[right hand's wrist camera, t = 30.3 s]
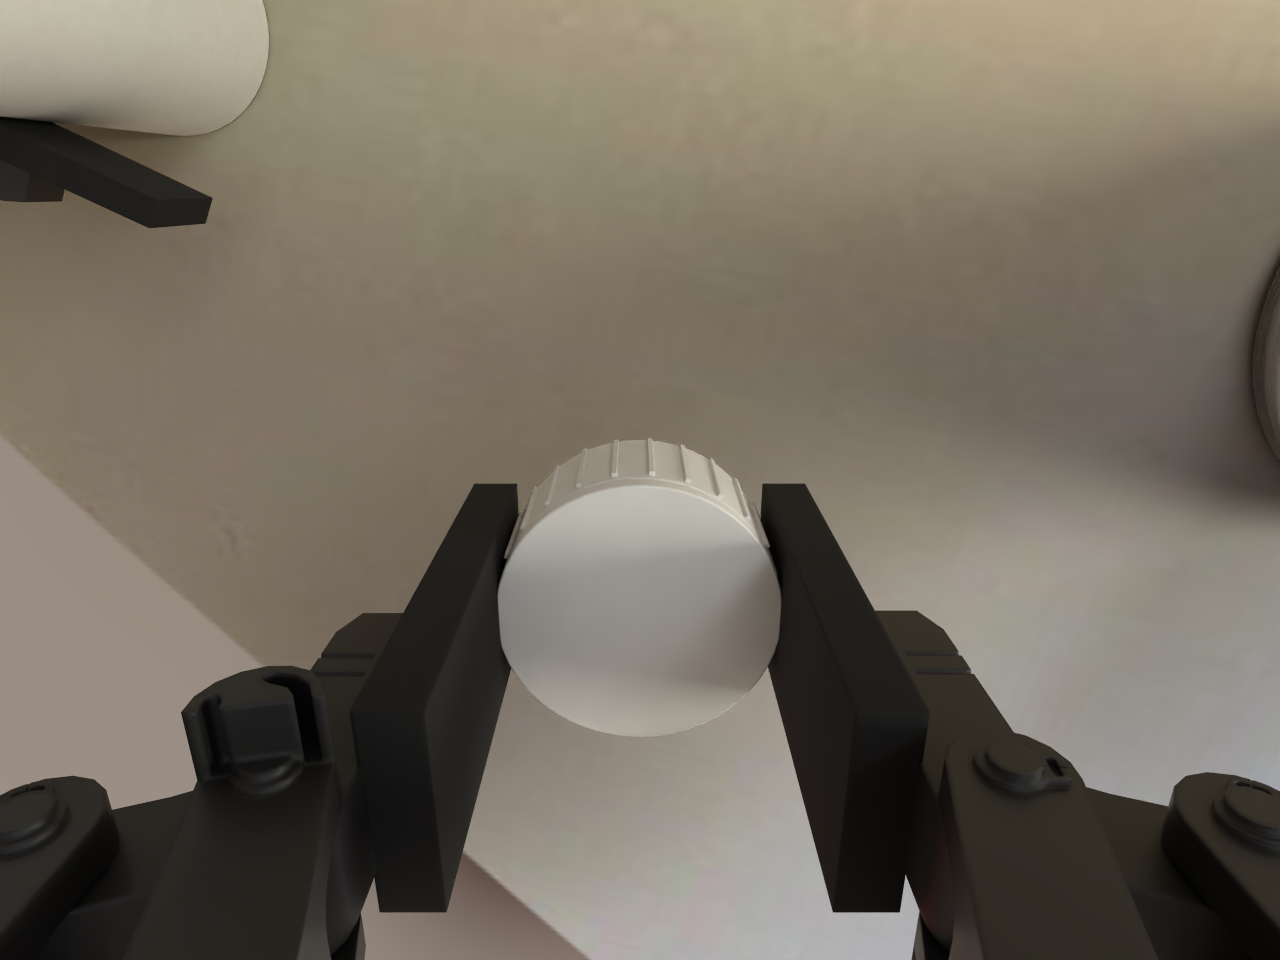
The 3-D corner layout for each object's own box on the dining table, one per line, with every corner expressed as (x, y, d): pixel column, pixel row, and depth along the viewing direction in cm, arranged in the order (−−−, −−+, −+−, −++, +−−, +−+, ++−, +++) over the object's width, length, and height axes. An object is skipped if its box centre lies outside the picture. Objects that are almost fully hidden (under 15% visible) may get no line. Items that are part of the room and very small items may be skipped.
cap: (774, 437, 14) (799, 484, 12) (755, 665, 15) (774, 743, 13) (508, 432, 14) (485, 479, 12) (517, 661, 15) (498, 739, 13)
